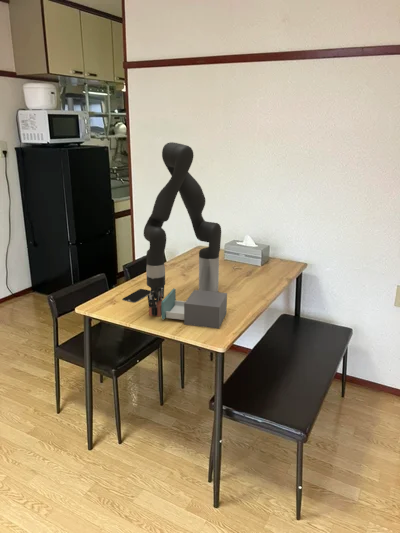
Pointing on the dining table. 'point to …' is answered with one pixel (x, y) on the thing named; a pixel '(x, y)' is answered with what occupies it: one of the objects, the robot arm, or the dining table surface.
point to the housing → (205, 309)
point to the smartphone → (137, 295)
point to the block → (159, 311)
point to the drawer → (172, 306)
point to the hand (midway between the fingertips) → (156, 312)
